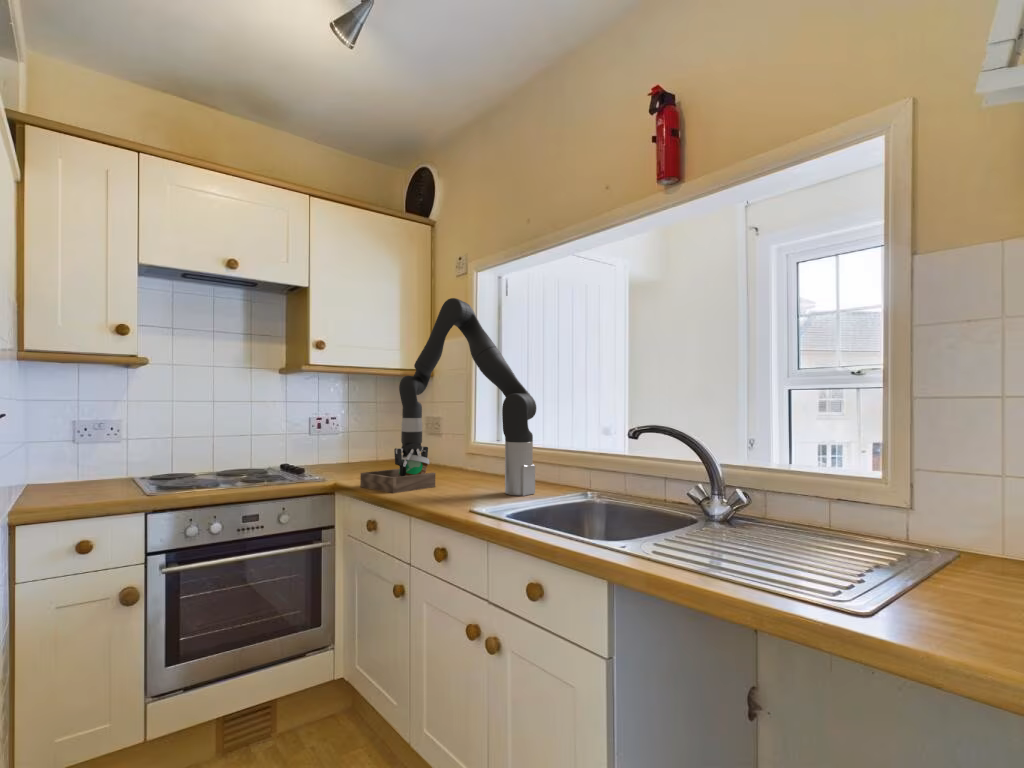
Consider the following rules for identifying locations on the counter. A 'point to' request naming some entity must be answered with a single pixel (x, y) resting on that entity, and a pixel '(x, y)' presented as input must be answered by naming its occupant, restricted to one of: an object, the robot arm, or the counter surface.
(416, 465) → the food container
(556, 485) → the counter surface
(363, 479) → the walnut box
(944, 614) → the counter surface
